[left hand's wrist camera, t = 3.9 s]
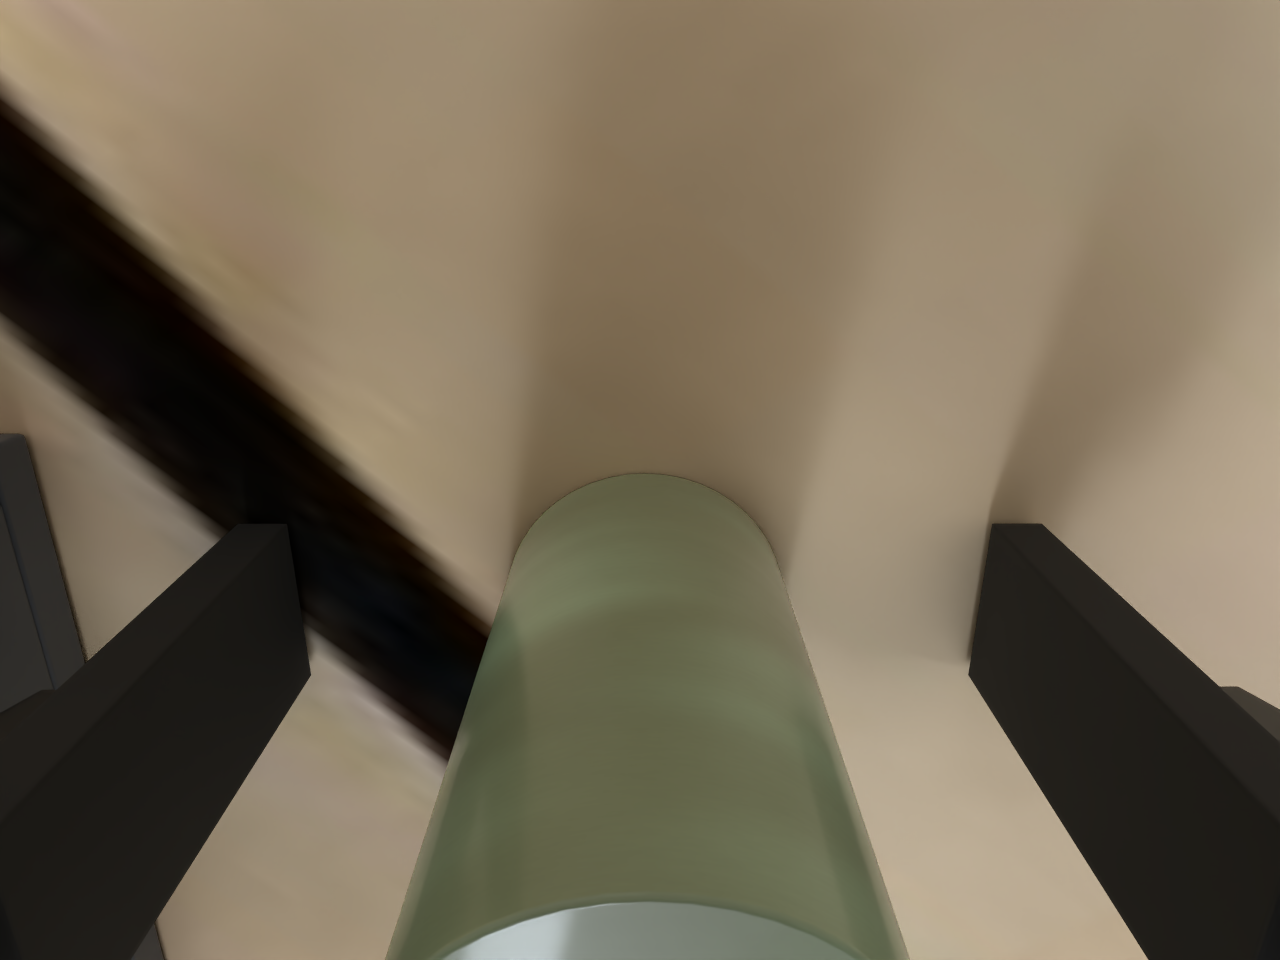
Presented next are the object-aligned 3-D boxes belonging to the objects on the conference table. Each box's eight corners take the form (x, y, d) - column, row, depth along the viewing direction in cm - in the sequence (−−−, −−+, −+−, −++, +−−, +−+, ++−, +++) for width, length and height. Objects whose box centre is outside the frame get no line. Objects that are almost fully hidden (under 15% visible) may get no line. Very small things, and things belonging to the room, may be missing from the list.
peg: (790, 472, 13) (991, 897, 6) (774, 716, 15) (913, 1307, 7) (500, 472, 13) (306, 895, 6) (514, 715, 15) (380, 1304, 7)
